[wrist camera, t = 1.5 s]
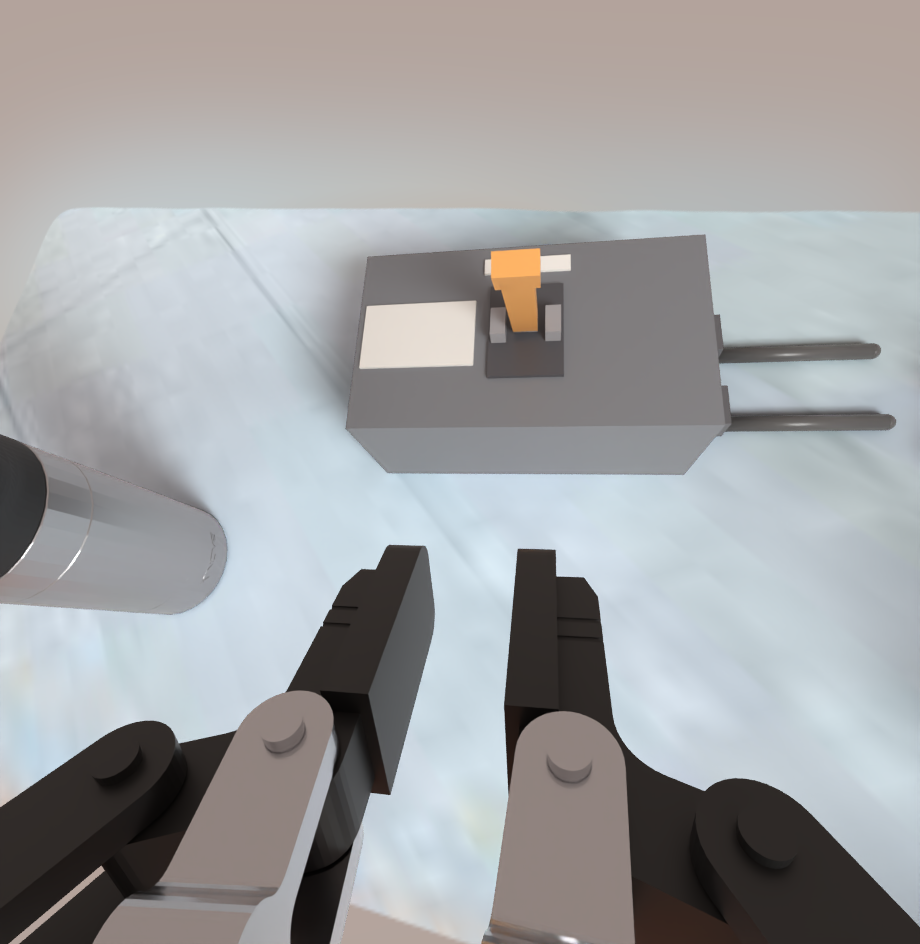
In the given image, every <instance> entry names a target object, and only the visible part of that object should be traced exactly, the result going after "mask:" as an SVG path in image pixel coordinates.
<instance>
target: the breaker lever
mask: <svg viewBox="0 0 920 944" xmlns="http://www.w3.org/2000/svg"><path fill="white" fill-rule="evenodd" d="M491 280H492V283H493V286H494V289H495V290H501V291H502V295H503V298H504V302H505V305H506V309H507V312H508V316H509V319H510V323H511V326H512V330H513V333H518V332H538V309H537V295H536V288H541V258H540V248H536V249H521V250H506V251H491Z"/></svg>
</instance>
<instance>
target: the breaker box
mask: <svg viewBox="0 0 920 944" xmlns="http://www.w3.org/2000/svg"><path fill="white" fill-rule="evenodd" d="M536 248H540V258H541V288H536V295H537V309H538V332H518V333H513V330H512V326H511V323H510V319H509V316H508V312H507V309H506V305H505V302H504V298H503V295H502V291H501V290H495V289H494V286H493V283H492V280H491V251H506V250H521V249H536ZM880 353H881V348H880V346H879V345H877V344H874V343H869V344H838V345H807V346H776V347H745V348H723V339H722V330H721V321H720V315H714V312H713V302H712V293H711V284H710V274H709V265H708V255H707V246H706V236H705V235H690V236H675V237H660V238H645V239H630V240H615V241H600V242H584V243H569V244H554V245H539V246H524V247H509V248H494V249H479V250H464V251H449V252H434V253H418V254H403V255H388V256H373V257H368V259H367V267H366V275H365V282H364V290H363V298H362V306H361V313H360V321H359V329H358V337H357V344H356V352H355V360H354V368H353V375H352V383H351V391H350V399H349V406H348V414H347V422H346V430H347V431H348V432H349V433H350V434H351V435H352V436H353V437H354V438H355V439H356V440H357V441H358V442H359V443H360V444H361V445H362V446H363V447H364V449H365V450H366V451H367V452H368V453H369V454H370V455H371V456H372V457H373V458H374V459H375V460H376V461H377V462H378V463H379V464H380V465H381V466H382V467H383V469H384V470H385V471H386V472H387V473H460V474H652V475H684V474H685V473H686V472H687V470H688V469H689V468H690V467H691V466H692V464H693V463H694V462H695V461H696V460H697V458H698V457H699V456H700V455H701V454H702V452H703V451H704V450H705V449H706V448H707V446H708V445H709V444H710V443H711V442H712V440H713V439H714V438H715V437H716V436H722V434H723V433H724V432H728V431H860V430H890V429H892V428H893V427H894V426H895V425H896V419H895V417H893V416H892V415H889V414H860V415H777V416H731V413H730V403H729V394H728V386H721V378H720V369H719V363H750V362H786V361H821V360H857V359H874V358H876V357H878V356H879V354H880Z"/></svg>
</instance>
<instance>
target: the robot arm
mask: <svg viewBox="0 0 920 944" xmlns="http://www.w3.org/2000/svg"><path fill="white" fill-rule="evenodd" d="M226 559H227V543H226V537H225V535H224V532H223V529H222V528H221V526H220V524H219V523H218V521H217V520H216V519H215V518H213V517H212V516H211V515H210V514H208V513H206V512H204V511H203V510H200V509H197V508H195V507H192V506H189V505H187V504H184V503H181V502H179V501H176V500H174V499H171V498H169V497H166V496H163V495H161V494H158V493H155V492H153V491H150V490H147V489H145V488H142V487H139V486H137V485H134V484H131V483H129V482H126V481H123V480H121V479H118V478H115V477H113V476H110V475H107V474H105V473H102V472H99V471H97V470H94V469H91V468H89V467H86V466H83V465H81V464H78V463H75V462H73V461H70V460H67V459H65V458H62V457H59V456H56V455H53V454H50V453H48V452H45V451H43V450H40V449H37V448H35V447H32V446H29V445H27V444H24V443H21V442H19V441H17V440H14V439H11V438H9V437H6V436H3V435H0V604H16V605H31V606H46V607H61V608H76V609H91V610H106V611H121V612H133V613H150V614H167V615H172V614H178V613H182V612H185V611H187V610H190V609H192V608H194V607H195V606H197V605H198V604H200V603H201V602H202V601H203V600H204V599H205V598H206V597H208V596H209V595H210V594H211V592H212V591H213V590H214V588H215V587H216V585H217V584H218V582H219V580H220V578H221V576H222V574H223V571H224V568H225V564H226ZM434 618H435V608H434V598H433V590H432V582H431V574H430V566H429V557H428V552H427V548H426V547H425V546H409V545H388V546H387V547H386V549H385V551H384V553H383V555H382V558H381V560H380V562H379V564H378V566H377V568H376V570H369V569H361V570H360V571H359V572H358V573H357V574H355V575H354V576H353V577H352V578H351V579H350V580H349V581H347V582H346V583H345V584H344V585H343V586H342V588H341V590H340V591H339V593H338V595H337V597H336V599H335V601H334V603H333V605H332V610H329V612H328V614H327V616H326V618H325V620H324V622H323V627H322V626H321V627H320V629H319V631H318V633H317V635H316V637H315V639H314V640H313V642H312V644H311V646H310V648H309V650H308V652H307V654H306V655H305V657H304V659H303V661H302V663H301V665H300V667H299V669H298V671H297V672H296V674H295V676H294V678H293V680H292V682H291V684H290V686H289V687H288V689H287V691H286V692H285V693H282V694H279V695H276V696H274V697H272V698H270V699H268V700H266V701H265V702H263V703H261V704H260V705H259V706H257V707H256V708H255V709H254V710H253V711H252V712H251V713H250V714H249V715H247V717H246V718H245V719H244V720H243V722H242V723H241V725H240V726H239V728H238V730H236V731H233V732H230V733H226V734H221V735H217V736H212V737H207V738H203V739H198V740H194V741H189V742H184V743H180V744H179V743H178V741H177V739H176V737H175V735H174V733H173V731H172V730H171V728H170V727H168V726H167V725H166V724H164V723H161V722H157V721H141V722H135V723H132V724H128V725H125V726H123V727H120V728H118V729H116V730H114V731H112V732H110V733H108V734H107V735H105V736H104V737H102V738H100V739H99V740H97V741H96V742H95V743H93V744H92V745H90V746H89V747H87V748H86V749H84V750H83V751H81V752H80V753H79V754H77V755H76V756H74V757H73V758H71V759H70V760H68V761H67V762H66V763H64V764H63V765H61V766H60V767H58V768H57V769H55V770H54V771H52V772H51V773H50V774H48V775H47V776H45V777H44V778H42V779H41V780H39V781H38V782H37V783H35V784H34V785H32V786H31V787H29V788H28V789H26V790H25V791H23V792H22V793H21V794H19V795H18V796H16V797H15V798H13V799H12V800H10V801H9V802H8V803H6V804H5V805H3V806H2V807H0V944H8V943H10V942H11V941H12V940H13V939H14V938H16V937H17V936H18V935H19V934H20V933H22V932H23V931H24V930H25V929H26V928H27V927H29V926H30V925H31V924H32V923H33V922H34V921H36V920H37V919H38V918H39V917H41V916H42V915H43V914H44V913H45V912H46V911H48V910H49V909H50V908H51V907H52V906H54V905H55V904H56V903H57V902H58V901H59V900H60V899H62V898H63V897H64V896H65V895H67V894H68V893H69V892H70V891H71V890H73V889H74V888H75V887H76V886H77V885H78V884H80V883H81V882H82V881H83V880H84V879H86V878H87V877H88V876H89V875H90V874H92V872H94V871H95V870H96V869H97V868H99V867H100V866H102V867H103V868H104V870H105V871H104V872H103V873H102V874H101V875H99V876H98V877H97V878H96V879H95V880H93V881H92V882H91V883H90V884H89V885H88V886H86V887H85V888H84V889H83V890H82V891H81V892H79V893H78V894H77V895H76V896H75V897H74V898H72V899H71V900H70V901H69V902H68V903H67V904H65V905H64V906H63V907H62V908H61V909H60V910H58V911H57V912H56V913H55V914H54V915H52V916H51V917H50V918H49V919H48V920H47V921H46V922H44V923H43V924H42V925H41V926H40V927H38V929H36V930H35V931H34V932H33V933H31V934H30V935H29V936H28V937H27V938H26V939H24V940H23V941H22V942H21V943H20V944H341V940H342V936H343V931H344V927H345V922H346V917H347V913H348V907H349V904H350V899H351V895H352V890H353V885H354V881H355V876H356V872H357V867H358V862H359V858H360V853H361V849H362V844H363V837H364V830H363V824H362V819H363V816H364V813H365V809H366V806H367V803H368V799H369V796H370V793H377V794H386V795H390V794H391V791H392V787H393V783H394V779H395V775H396V772H397V768H398V764H399V760H400V757H401V753H402V749H403V745H404V741H405V738H406V734H407V730H408V726H409V723H410V719H411V715H412V711H413V707H414V704H415V700H416V696H417V692H418V689H419V685H420V681H421V677H422V673H423V670H424V666H425V662H426V658H427V655H428V651H429V647H430V643H431V640H432V635H433V629H434ZM504 712H505V733H506V753H507V774H508V794H509V798H508V805H507V812H506V819H505V826H504V833H503V840H502V847H501V854H500V860H499V867H498V874H497V881H496V888H495V895H494V902H493V908H492V914H491V919H490V923H489V927H488V929H487V930H486V931H485V933H484V936H483V939H482V943H481V944H920V927H919V926H918V925H917V924H916V923H915V922H914V921H913V919H912V918H911V917H910V916H909V915H908V914H907V913H906V912H905V911H904V910H903V909H902V908H901V907H900V906H899V905H898V904H897V903H896V902H895V901H894V900H893V899H892V898H891V897H890V896H889V895H888V894H887V893H886V891H885V890H884V889H883V888H882V887H881V886H880V885H879V884H878V883H877V882H876V881H875V880H874V879H873V878H872V877H871V876H870V875H869V874H868V873H867V872H866V871H865V870H864V869H863V868H862V867H861V866H860V865H859V863H858V862H857V861H856V860H855V859H854V858H853V857H852V856H851V855H850V854H849V853H848V852H847V851H846V850H845V849H844V848H843V847H842V846H841V845H840V844H839V843H838V842H837V841H836V840H835V839H834V838H833V836H832V835H831V834H830V833H829V832H828V831H827V830H826V829H825V828H824V827H823V826H822V825H821V824H820V823H819V822H818V821H817V820H816V819H815V818H814V817H813V816H812V815H811V814H810V813H809V812H808V811H807V810H806V809H805V808H804V807H803V806H802V805H801V804H799V803H798V802H797V801H795V800H794V799H793V798H791V797H790V796H788V795H787V794H785V793H783V792H782V791H780V790H778V789H776V788H774V787H772V786H769V785H767V784H764V783H761V782H758V781H755V780H749V779H738V778H733V779H727V780H722V781H720V782H717V783H715V784H713V785H712V786H710V787H709V788H708V789H707V790H706V791H702V790H700V789H698V788H695V787H693V786H690V785H688V784H685V783H683V782H680V781H678V780H675V779H673V778H670V777H668V776H666V775H663V774H661V773H659V772H657V771H655V770H654V769H652V768H650V767H649V766H647V765H646V764H644V763H643V762H642V761H641V760H639V759H638V758H637V757H636V756H635V755H634V754H633V753H632V752H631V751H630V750H629V749H628V748H627V746H626V745H625V744H624V742H623V741H622V739H621V738H620V736H619V734H618V732H617V730H616V727H615V724H614V720H613V715H612V707H611V699H610V691H609V683H608V675H607V666H606V658H605V650H604V643H603V634H602V626H601V618H600V610H599V602H598V596H597V595H596V594H595V592H594V591H593V589H592V588H591V587H590V585H589V584H588V583H587V581H586V580H585V578H581V577H556V551H555V550H544V549H518V552H517V563H516V575H515V586H514V598H513V609H512V621H511V632H510V644H509V655H508V667H507V678H506V690H505V701H504Z"/></svg>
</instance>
